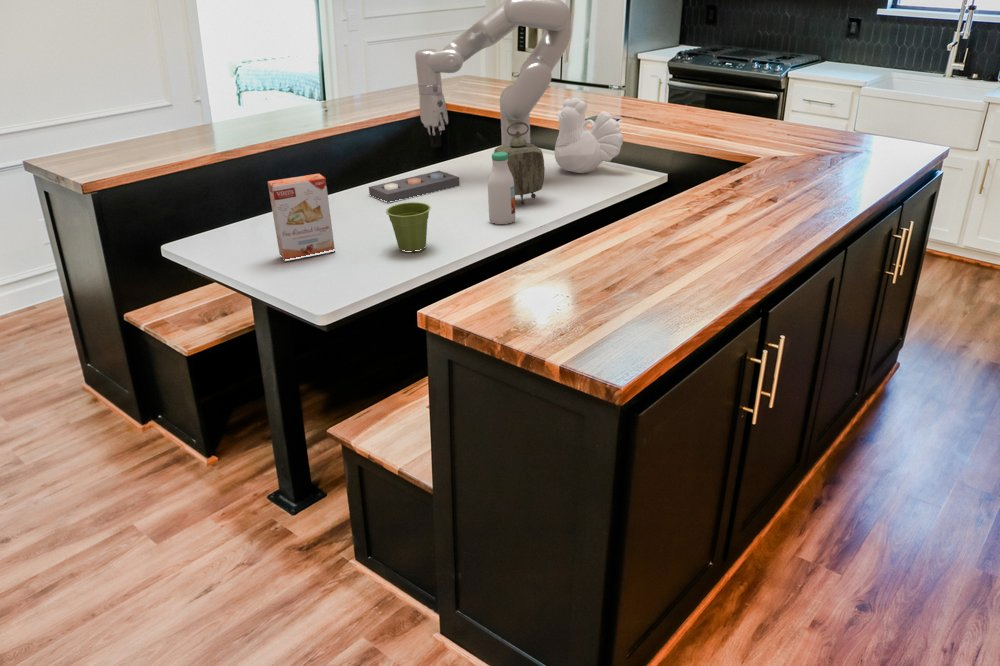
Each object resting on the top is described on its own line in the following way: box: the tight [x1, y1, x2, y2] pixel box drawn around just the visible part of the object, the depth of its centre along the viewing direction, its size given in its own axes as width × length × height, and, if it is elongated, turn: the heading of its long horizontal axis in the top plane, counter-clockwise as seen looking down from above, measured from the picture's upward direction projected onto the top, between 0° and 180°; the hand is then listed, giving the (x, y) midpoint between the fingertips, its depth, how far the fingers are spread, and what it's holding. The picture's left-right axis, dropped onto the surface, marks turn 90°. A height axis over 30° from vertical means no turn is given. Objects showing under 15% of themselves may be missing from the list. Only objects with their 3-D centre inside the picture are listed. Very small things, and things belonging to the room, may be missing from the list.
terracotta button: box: [408, 178, 421, 185], centre depth 263 cm, size 4×4×3 cm
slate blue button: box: [430, 173, 443, 179], centre depth 268 cm, size 4×4×3 cm
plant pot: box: [385, 201, 432, 252], centre depth 211 cm, size 12×12×11 cm
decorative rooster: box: [554, 97, 624, 174], centre depth 270 cm, size 25×16×25 cm, turn 43°
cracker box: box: [267, 173, 336, 261], centre depth 208 cm, size 14×6×21 cm, turn 117°
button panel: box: [368, 170, 461, 202], centre depth 263 cm, size 12×28×3 cm, turn 128°
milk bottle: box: [487, 152, 516, 225], centre depth 227 cm, size 8×8×20 cm
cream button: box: [384, 183, 398, 190], centre depth 258 cm, size 4×4×3 cm
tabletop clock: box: [493, 122, 546, 206], centre depth 241 cm, size 14×9×25 cm, turn 108°
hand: (436, 146), depth 263 cm, fingers closed
